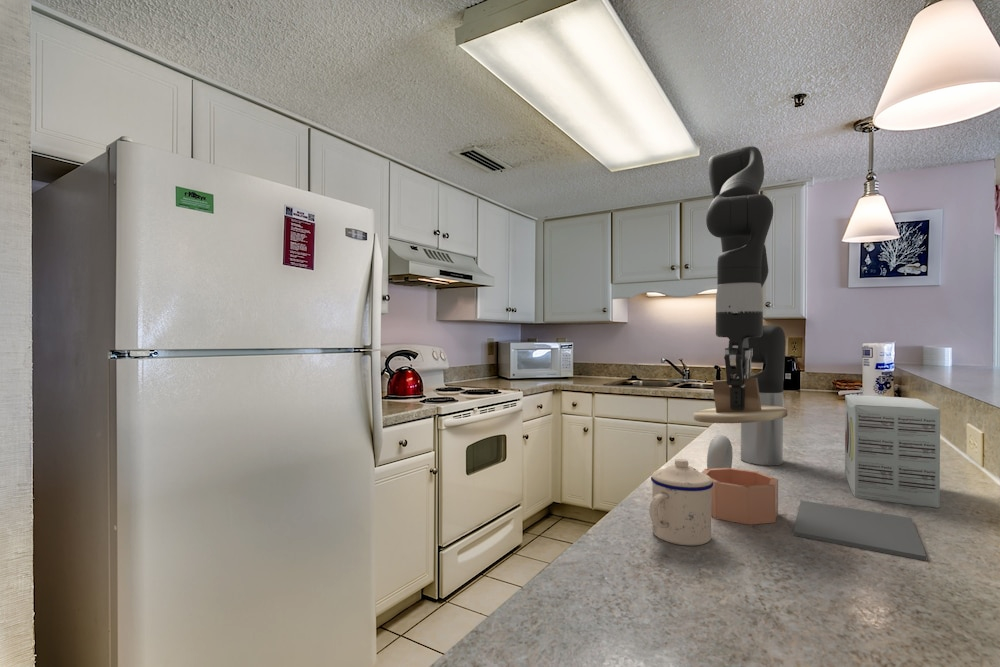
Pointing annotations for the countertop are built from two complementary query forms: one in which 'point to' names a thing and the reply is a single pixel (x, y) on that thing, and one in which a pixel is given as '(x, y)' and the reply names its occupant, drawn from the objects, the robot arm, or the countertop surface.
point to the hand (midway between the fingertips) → (738, 408)
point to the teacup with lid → (681, 504)
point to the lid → (748, 414)
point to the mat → (859, 529)
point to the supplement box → (893, 449)
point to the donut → (719, 453)
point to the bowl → (743, 496)
